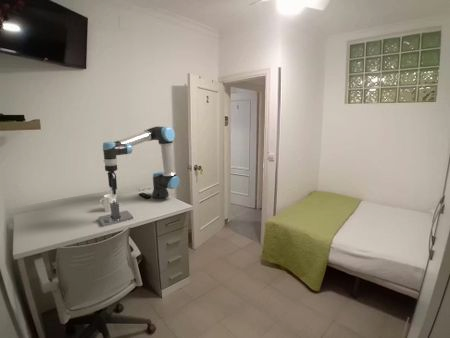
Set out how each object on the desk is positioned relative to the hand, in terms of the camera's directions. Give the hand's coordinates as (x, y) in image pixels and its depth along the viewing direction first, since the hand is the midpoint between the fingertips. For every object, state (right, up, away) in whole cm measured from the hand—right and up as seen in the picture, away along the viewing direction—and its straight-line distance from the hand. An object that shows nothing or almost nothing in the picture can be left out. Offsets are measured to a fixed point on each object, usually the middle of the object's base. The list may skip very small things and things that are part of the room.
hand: (113, 197), depth 162 cm
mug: (-14, -13, +20) cm, 27 cm away
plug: (0, -16, +4) cm, 17 cm away
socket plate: (0, -16, +4) cm, 17 cm away
